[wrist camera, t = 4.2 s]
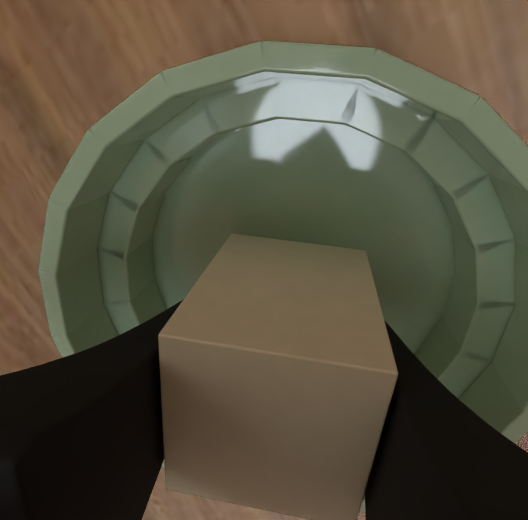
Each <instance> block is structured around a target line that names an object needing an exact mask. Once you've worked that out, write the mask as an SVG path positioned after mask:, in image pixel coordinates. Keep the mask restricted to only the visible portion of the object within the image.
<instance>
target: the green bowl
mask: <svg viewBox="0 0 528 520" xmlns="http://www.w3.org/2000/svg"><path fill="white" fill-rule="evenodd" d="M231 234H240V235H248V236H256V237H264V238H272V239H280V240H288V241H296V242H303V243H311V244H319V245H327V246H335V247H343V248H351V249H359V250H365V251H366V253H367V257H368V261H369V264H370V268H371V272H372V276H373V280H374V283H375V287H376V291H377V295H378V298H379V302H380V306H381V310H382V314H383V317H384V320H385V321H386V322H387V323H388V324H389V326H390V327H391V328H392V329H393V330H394V332H395V333H396V334H397V335H398V336H399V338H400V339H401V340H402V341H403V342H404V343H405V345H406V346H407V347H408V348H409V349H410V350H411V351H412V353H413V354H414V355H415V356H416V357H417V358H418V359H419V360H420V361H421V363H422V364H423V365H424V366H425V367H426V368H427V369H428V370H429V371H430V372H431V373H432V374H433V375H434V376H435V377H436V378H437V379H438V380H439V381H440V382H441V383H442V384H443V385H444V386H445V387H446V388H447V389H448V390H449V391H450V392H451V393H452V394H454V395H455V396H456V397H457V398H458V399H459V400H460V401H461V402H463V403H464V404H465V405H466V406H467V407H468V408H470V409H471V410H472V411H473V412H474V413H476V414H477V415H478V416H479V417H480V418H482V419H483V420H484V421H485V422H487V423H488V424H489V425H490V426H492V427H493V428H494V429H496V430H497V431H498V432H500V433H501V434H502V435H504V436H505V437H506V438H508V439H509V440H511V441H512V442H513V443H515V444H516V443H517V442H518V441H519V440H520V439H521V438H522V437H523V436H524V435H525V434H526V433H528V145H527V144H526V143H525V142H524V141H523V140H522V139H521V138H520V137H519V136H518V134H517V133H516V132H515V131H514V130H513V129H512V128H511V127H510V126H509V125H508V124H507V123H506V122H505V121H504V120H503V118H502V117H501V116H500V115H499V114H498V113H497V112H496V111H495V110H494V109H493V108H492V107H491V106H490V105H489V104H488V102H487V101H486V100H485V99H484V98H481V97H480V96H479V95H478V94H476V93H474V92H472V91H470V90H468V89H465V88H463V87H461V86H459V85H457V84H455V83H452V82H450V81H448V80H446V79H444V78H442V77H439V76H437V75H435V74H433V73H431V72H429V71H426V70H424V69H422V68H420V67H418V66H416V65H413V64H411V63H409V62H407V61H405V60H403V59H400V58H398V57H396V56H394V55H392V54H390V53H387V52H385V51H383V50H381V49H376V50H375V48H373V47H362V46H347V45H332V44H317V43H302V42H287V41H272V40H264V41H263V42H261V41H256V42H253V43H250V44H246V45H243V46H240V47H237V48H233V49H230V50H227V51H224V52H220V53H217V54H214V55H211V56H207V57H204V58H201V59H197V60H194V61H191V62H188V63H184V64H181V65H178V66H175V67H171V68H168V69H165V70H163V71H162V72H159V73H157V74H156V75H155V76H154V77H152V78H151V79H150V80H149V81H147V82H146V83H145V84H144V85H142V86H141V87H140V88H139V89H137V90H136V91H135V92H134V93H132V94H131V95H130V96H129V97H127V98H126V99H125V100H124V101H122V102H121V103H120V104H119V105H117V106H116V107H115V108H114V109H112V110H111V111H110V112H109V113H107V114H106V115H105V116H103V117H102V118H101V119H100V120H98V121H97V122H96V123H95V124H93V125H92V126H91V127H90V129H88V130H87V131H86V133H85V135H84V137H83V138H82V140H81V142H80V144H79V146H78V147H77V149H76V151H75V153H74V154H73V156H72V158H71V160H70V161H69V163H68V165H67V167H66V168H65V170H64V172H63V174H62V176H61V177H60V179H59V181H58V183H57V184H56V186H55V188H54V190H53V191H52V193H51V195H50V197H49V201H48V206H47V213H46V220H45V227H44V234H43V240H42V247H41V254H40V261H39V271H38V273H39V278H40V283H41V288H42V293H43V299H44V304H45V309H46V314H47V319H48V325H49V330H50V335H52V339H53V341H54V343H55V345H56V347H57V349H58V351H59V353H60V354H61V356H62V358H63V357H66V356H69V355H72V354H75V353H78V352H81V351H83V350H86V349H88V348H91V347H93V346H96V345H98V344H101V343H103V342H105V341H108V340H110V339H112V338H114V337H116V336H119V335H121V334H123V333H125V332H126V331H128V330H130V329H132V328H134V327H136V326H138V325H140V324H142V323H144V322H146V321H147V320H149V319H151V318H153V317H155V316H156V315H158V314H160V313H161V312H163V311H165V310H166V309H168V308H170V307H172V306H173V305H175V304H176V303H178V302H180V301H181V300H183V299H184V298H185V297H186V296H187V294H188V293H189V291H190V290H191V289H192V287H193V286H194V285H195V283H196V282H197V280H198V279H199V278H200V276H201V275H202V274H203V272H204V271H205V269H206V268H207V267H208V265H209V264H210V263H211V261H212V260H213V258H214V257H215V256H216V254H217V253H218V251H219V250H220V249H221V247H222V246H223V245H224V243H225V242H226V240H227V239H228V238H229V236H230V235H231ZM162 467H163V468H164V469H165V466H164V461H163V463H162ZM360 512H361V513H364V512H366V511H365V494H364V497H363V500H362V504H361V507H360V511H359V513H360Z"/></svg>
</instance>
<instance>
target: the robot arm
mask: <svg viewBox="0 0 528 520" xmlns="http://www.w3.org/2000/svg"><path fill="white" fill-rule="evenodd" d="M183 300H184V299H183ZM183 300H181V301H180V302H178V303H176V304H175V305H173V306H172V307H170V308H168V309H166V310H165V311H163V312H161V313H160V314H158V315H156V316H155V317H153V318H151V319H149V320H147V321H146V322H144V323H142V324H140V325H138V326H136V327H134V328H132V329H130V330H128V331H126V332H125V333H123V334H121V335H119V336H116V337H114V338H112V339H110V340H108V341H105V342H103V343H101V344H98V345H96V346H93V347H91V348H88V349H86V350H83V351H81V352H78V353H75V354H72V355H69V356H66V357H63V358H60V359H57V360H54V361H51V362H48V363H45V364H42V365H39V366H35V367H31V368H28V369H24V370H21V371H17V372H13V373H9V374H5V375H1V376H0V520H142V517H143V514H144V512H145V509H146V506H147V503H148V501H149V498H150V495H151V492H152V490H153V487H154V484H155V482H156V479H157V476H158V474H159V471H160V469H161V466H162V463H163V461H164V445H163V424H162V403H161V383H160V362H159V341H158V335H159V333H160V332H161V330H162V329H163V327H164V326H165V325H166V323H167V322H168V320H169V319H170V318H171V316H172V315H173V314H174V312H175V311H176V309H177V308H178V307H179V305H180V304H181V303H182V301H183ZM384 321H385V320H384ZM385 325H386V329H387V333H388V336H389V340H390V344H391V348H392V352H393V355H394V359H395V363H396V367H397V371H398V377H397V380H396V384H395V387H394V391H393V395H392V398H391V402H390V405H389V409H388V412H387V416H386V419H385V423H384V426H383V430H382V433H381V437H380V440H379V444H378V447H377V451H376V454H375V458H374V461H373V465H372V468H371V472H370V476H369V479H368V483H367V486H366V490H365V493H364V494H365V511H366V520H528V453H527V452H526V451H524V450H523V449H522V448H520V447H519V446H517V445H516V444H515V443H513V442H512V441H511V440H509V439H508V438H506V437H505V436H504V435H502V434H501V433H500V432H498V431H497V430H496V429H494V428H493V427H492V426H490V425H489V424H488V423H487V422H485V421H484V420H483V419H482V418H480V417H479V416H478V415H477V414H476V413H474V412H473V411H472V410H471V409H470V408H468V407H467V406H466V405H465V404H464V403H463V402H461V401H460V400H459V399H458V398H457V397H456V396H455V395H454V394H452V393H451V392H450V391H449V390H448V389H447V388H446V387H445V386H444V385H443V384H442V383H441V382H440V381H439V380H438V379H437V378H436V377H435V376H434V375H433V374H432V373H431V372H430V371H429V370H428V369H427V368H426V367H425V366H424V365H423V364H422V363H421V361H420V360H419V359H418V358H417V357H416V356H415V355H414V354H413V353H412V351H411V350H410V349H409V348H408V347H407V346H406V345H405V343H404V342H403V341H402V340H401V339H400V338H399V336H398V335H397V334H396V333H395V332H394V330H393V329H392V328H391V327H390V326H389V324H388V323H387V322H386V321H385Z"/></svg>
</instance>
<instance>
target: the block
mask: <svg viewBox="0 0 528 520" xmlns="http://www.w3.org/2000/svg"><path fill="white" fill-rule="evenodd" d="M158 341H159V362H160V383H161V403H162V424H163V445H164V466H165V487H166V489H167V490H171V491H176V492H181V493H186V494H190V495H195V496H200V497H205V498H209V499H214V500H219V501H224V502H229V503H233V504H238V505H243V506H248V507H252V508H257V509H262V510H267V511H271V512H276V513H281V514H286V515H290V516H295V517H300V518H305V519H309V520H357V518H358V514H359V511H360V507H361V504H362V500H363V497H364V493H365V490H366V486H367V483H368V479H369V476H370V472H371V468H372V465H373V461H374V458H375V454H376V451H377V447H378V444H379V440H380V437H381V433H382V430H383V426H384V423H385V419H386V416H387V412H388V409H389V405H390V402H391V398H392V395H393V391H394V387H395V384H396V380H397V377H398V371H397V367H396V363H395V359H394V355H393V352H392V348H391V344H390V340H389V336H388V333H387V329H386V325H385V321H384V317H383V314H382V310H381V306H380V302H379V298H378V295H377V291H376V287H375V283H374V280H373V276H372V272H371V268H370V264H369V261H368V257H367V253H366V251H365V250H359V249H351V248H343V247H335V246H327V245H319V244H311V243H303V242H296V241H288V240H280V239H272V238H264V237H256V236H248V235H240V234H231V235H230V236H229V238H228V239H227V240H226V242H225V243H224V245H223V246H222V247H221V249H220V250H219V251H218V253H217V254H216V256H215V257H214V258H213V260H212V261H211V263H210V264H209V265H208V267H207V268H206V269H205V271H204V272H203V274H202V275H201V276H200V278H199V279H198V280H197V282H196V283H195V285H194V286H193V287H192V289H191V290H190V291H189V293H188V294H187V296H186V297H185V298H184V300H183V301H182V303H181V304H180V305H179V307H178V308H177V309H176V311H175V312H174V314H173V315H172V316H171V318H170V319H169V320H168V322H167V323H166V325H165V326H164V327H163V329H162V330H161V332H160V333H159V335H158Z"/></svg>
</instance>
